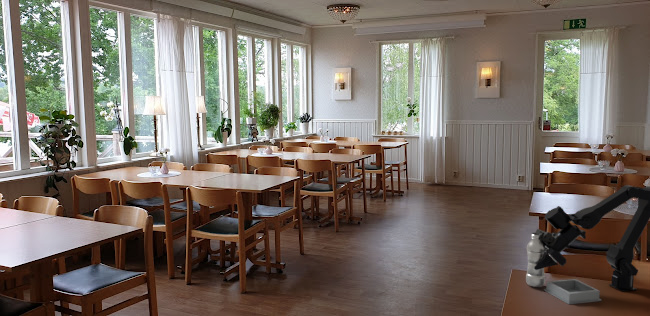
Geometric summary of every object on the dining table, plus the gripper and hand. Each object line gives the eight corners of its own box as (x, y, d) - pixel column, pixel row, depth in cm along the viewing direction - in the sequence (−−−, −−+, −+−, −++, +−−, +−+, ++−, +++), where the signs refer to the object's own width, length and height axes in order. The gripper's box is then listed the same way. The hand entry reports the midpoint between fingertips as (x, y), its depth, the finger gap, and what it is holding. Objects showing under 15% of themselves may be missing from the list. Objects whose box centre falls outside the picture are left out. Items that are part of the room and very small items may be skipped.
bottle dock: (575, 287, 185) (575, 278, 184) (601, 300, 172) (602, 291, 172) (544, 290, 182) (544, 281, 182) (568, 304, 169) (569, 294, 169)
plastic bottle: (546, 289, 182) (548, 236, 180) (527, 288, 184) (528, 236, 181) (542, 283, 189) (544, 231, 186) (523, 282, 190) (525, 231, 187)
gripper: (540, 216, 193) (509, 244, 195) (558, 228, 174) (524, 258, 176) (560, 236, 193) (529, 264, 195) (580, 251, 174) (546, 281, 176)
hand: (532, 266), depth 186 cm, fingers closed on plastic bottle, 6 cm apart
